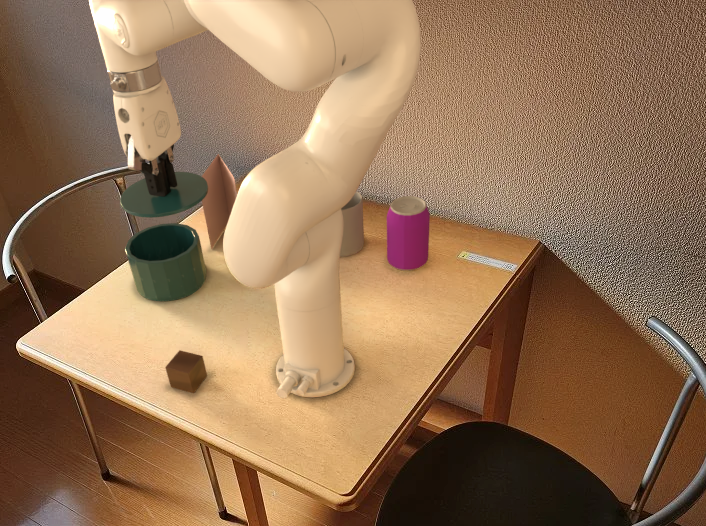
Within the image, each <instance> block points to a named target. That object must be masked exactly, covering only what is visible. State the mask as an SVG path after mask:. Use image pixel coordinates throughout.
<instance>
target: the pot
mask: <svg viewBox="0 0 706 526" xmlns="http://www.w3.org/2000/svg"><path fill="white" fill-rule="evenodd" d="M124 251H125V254H126V258H127V261H128V265H129V268H130V271H131V275H132V278H133V281H134V286H135V288H136V291H137V293H138V294H139V295H140V296H141V297H142V298H144V299H147V300H149V301H153V302H172V301H177V300H182V299H184V298H187V297H189V296H190V295H192V294H194V293H196V292H197V291H199V290H200V289H201V288H202V287H203V285H204V284H205V283H206V280H207V268H206V263H205V257H204V254H203V248H202V244H201V238H200V235H199V233H198V232H197V230H196V229H195V228H194V227H191V226H190V225H187V224H184V223H177V222H170V223H159V224H157V225H151V226H148V227H145V228H144V229H141V230H139V231H138V232H136V233H135V234H134V235H132V236H131V237H130V238H129V239H128V240H127V242H126V245H125V248H124Z"/></svg>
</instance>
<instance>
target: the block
mask: <svg viewBox="0 0 706 526" xmlns="http://www.w3.org/2000/svg"><path fill="white" fill-rule="evenodd" d="M165 371H166V375H167V378H168V383H169V385H170V388H172V389H176V390H180V391H184V392H187V393H189V394H190V393H191V394H195V393H196V391H197V390H198V389H199V387H201V385H202V384H203V383H204V381H205V380H206V378H207V377H208V373H207V368H206V365H205V360H204V357H203V355H201V354H197V353H193V352H190V351H189V352H188V351H184V350H182V349H181V350H180V349H179V350H178V351H177V353H176V354H175V355H174V356H173V357H172V359H171V360H170V361H168V363H167V364H166V366H165Z"/></svg>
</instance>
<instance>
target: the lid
mask: <svg viewBox="0 0 706 526" xmlns="http://www.w3.org/2000/svg"><path fill="white" fill-rule="evenodd" d="M156 160H157V165H158V170H159V172H161V173H162V175H163V179H164V183H165V187H166V191H167V195H166V196H165V197H162V196H155V195H150V194H149V191H148V187H147V183H146V180H145V177H144V178H142V179H140V180H138V181H136V182H133V184H130V185H129V186H128V187H127V188H126V189H125V190H124V191H123V192H122V193H121V196H120V200H119V202H120V206H121V208H122V210H123V211H124V212H125V213H126V214H129V215H131V216H134V217H138V218H148V219H149V218H151V219H152V218H153V219H154V218H162V217H163V218H164V217H168V216H173V215H176V214H177V215H178V214H180V213H183V212H185V211H187V210H190V209H192V208H193V207H195V206H197V205H199V204H200V203H202V200H203V199H204V198H205V196H206V195H207V193H208V184H207V181H206V180H205V179H204V178H203V177H202V175H199V174H197V173H194V172H188V171H174V172H175V176H176V180H177V186H176V187H170V184H169V180H168V175H167V171H166V167H165V163H164V159H163V158H160V157H158V158H156ZM148 164H150V163H149V162H148Z"/></svg>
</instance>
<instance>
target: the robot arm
mask: <svg viewBox="0 0 706 526" xmlns="http://www.w3.org/2000/svg"><path fill="white" fill-rule="evenodd" d="M88 2H89V9H90V11H91V15H92V19H93V22H94V27H95V29H96V33H97V37H98V41H99V45H100V48H101V52H102V55H103V59H104V63H105V67H106V70H107V74H108V78H109V82H110V84H109V86H110V89H111V90H112V92H113V94H112V96H113V97H112V99H113V109H114V114H115V120H116V126H117V132H118V135H119V136H118V137H119V139H120V143H121V146H122V149H123V152H124V154H125V156H126V158H127V169H128V170H129V171H136V172H137V171H139V172H140V174H142V175H143V176H144V178H145V180H146V183H147V187H148V191H149V194H150V195H155V196H162V197H165V196H166V195H167V191H166V187H165V183H164V179H163V175H162V173H161V172H159V170H158V165H157V160H156V158H158V157H160V158H163V159H164V163H165V167H166V171H167V175H168V180H169V184H170V187H176V186H177V180H176V176H175V172H176V171H175V169H174V168H175V167H174V164H173V163H174V160H175V157H174V148H175V143H177V142H178V141H179V140H180V139H181V136H182V129H181V124H180V119H179V116H178V112H177V109H176V104H175V102H174V99H173V96H172V93H171V90H170V88H169V86H168V83H167V81H166V78H165V76H163V75H162V72H161V67H160V63H159V59H158V54H157V52H159V51H161V50H163V49H165V48H167V47H170V46H172V45H175V44H177V43H180V42H182V41H184V40H186V39H189V38H193V37H196V36H197V35H199V34H203V33H204V32H207V31H209V32H211V34H213V35H214V37H216V38H217V39H218V40H219V41H220V42H222V43H223V44H224V45H225V46H226V47H228V48H229V49H230V50H231V51H233V52H234V53H235V54H236V55H238V56H239V57H240V58H241V59H243V61H245V62H246V63H247V64H248V65H249V66H251V67H252V68H253V69H254V70H256V71H257V72H258V73H260V75H262V76H263V77H264V78H265V79H267V80H268V81H269V82H271V83H272V84H274V85H275V86H277V87H278V88H281V89H283V90H286V91H288V92H291V93H305V92H309V91H312V90H314V89H317V88H320V87H321V86H324V85H325V84H328V83H330V82H331V81H332V82H331V84H330V85H329V86H328V87H327V89H326V90H325V92H324V93H323V95H322V96H321V98H320V100H319V102H318V103H317V106H316V107H315V110H314V112H313V115H312V119H311V120H310V123H309V125H308V127H307V129H306V130H305V132H304V134H303V135H302V137H301V138H300V139H299V140H297V141H296V142H294V143H293V144H291V145H290V146H288V147H286V148H285V149H283V150H281V151H279V152H277V153H276V154H274V155H272V156H270V157H269V158H267V159H265V160H264V161H262V162H260V163H258V164H257V165H256V166H255V167H254V168H252V169H251V170H250V171H249V172H248V173H247V174H246V176H245V178H244V179H243V181H242V182H241V184H240V187H239V189H238V192H237V197H236V200H235V203H234V206H233V209H232V211H231V214H230V217H229V220H228V223H227V226H226V227H225V229H224V234H223V240H222V252H223V257H224V261H225V264H226V266H227V268H228V270H229V273H231V275H232V276H233V277H234V279H236V281H238V282H239V283H240V284H241V285H243V286H245V287H248V288H250V289H257V290H260V289H266V288H269V287H272V286H273V287H274V296H275V303H276V310H277V317H278V325H279V332H280V341H281V346H282V353H283V354H282V355H281V356H280V357H279V359H278V360H277V363H276V366H275V374H276V378H277V382H278V384H279V386H278V388H277V389H276V391H275V394H276V395H277V396H278V398H280V399H283V400H285V399H287V398H288V397H289V396H290V394H294V395H296V396H299V397H303V398H321V397H326V396H329V395H332V394H336V393H337V392H339V391H342V389H344V388H345V387H347V386H348V384H349V383H350V382H351V381H352V379H353V378H354V375H355V371H356V369H355V360H354V357H353V355H352V354H351V353H350V351H348V349H346V348H345V347H344V332H343V317H342V315H343V314H342V300H341V282H340V281H341V280H340V279H341V278H340V258H341V256H340V250H341V244H342V237H343V215H342V211H341V208H342V207H344V206H345V205H346V204H347V203H348V202H349V201H350V200H351V199H352V197H353V196H354V194H355V193H356V191H357V192H358V189H359V187H360V185H361V183H363V182H362V181H363V180H364V178H365V176H366V174H367V173H368V171H369V169H370V167H371V165H372V163H373V161H374V160H375V158H376V156H377V154H378V152H379V150H380V148H381V146H382V144H383V142H384V141H385V138H386V136H387V135H388V133H389V131H390V130H391V128H392V126H393V125H394V123H395V121H396V119H397V117H398V116H399V114H400V113H401V111H402V109H403V107H404V106H405V103H406V101H407V99H408V97H409V95H410V93H411V90H412V88H413V86H414V83H415V80H416V77H417V74H418V70H419V66H420V61H421V60H420V59H421V51H422V37H421V25H420V20H419V16H418V11H417V9H416V6H415V3H414V1H413V0H88ZM146 161H148V162H146ZM149 163H150V164H149Z"/></svg>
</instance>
